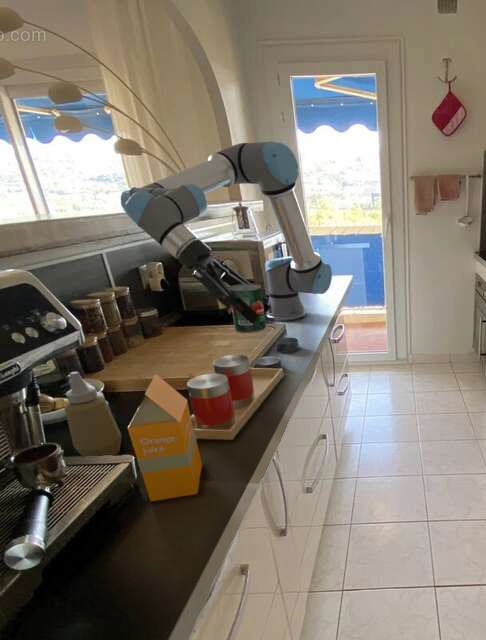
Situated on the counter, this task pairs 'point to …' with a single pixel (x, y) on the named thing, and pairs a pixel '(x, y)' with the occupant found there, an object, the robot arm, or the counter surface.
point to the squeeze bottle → (90, 420)
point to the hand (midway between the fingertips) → (261, 315)
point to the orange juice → (166, 443)
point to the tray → (262, 386)
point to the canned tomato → (254, 300)
